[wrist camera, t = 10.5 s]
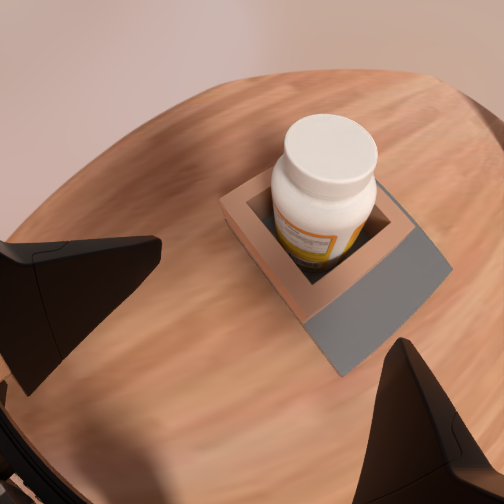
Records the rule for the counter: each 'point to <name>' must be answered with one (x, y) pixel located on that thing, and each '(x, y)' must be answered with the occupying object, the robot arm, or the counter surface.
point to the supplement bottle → (323, 189)
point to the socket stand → (343, 273)
